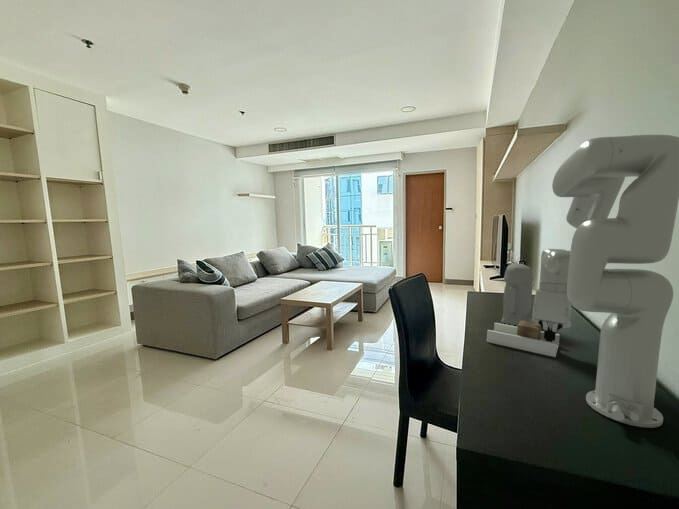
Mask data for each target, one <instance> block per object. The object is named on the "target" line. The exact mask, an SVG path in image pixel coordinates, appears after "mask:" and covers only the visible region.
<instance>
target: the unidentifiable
mask: <svg viewBox="0 0 679 509" xmlns="http://www.w3.org/2000/svg"><path fill="white" fill-rule="evenodd" d="M533 274H534V273H533V269H531V267H530V266H528V265H526V264H523V263H511V264H509V265H507V267H506V269H505V272H504V276H503V281H504V282H505V286H504V290H503V307H502V308H503V310H502V312H503V314H502V318H501V319H500V322H501V323H502V322H503V323H502V324H504V323H505V324H506V325H509V324H510V325H511V326H514V325H516V326H517V327H518V324H519V322H520V321H521V320H524V321H530V322H532V320H531V319H532V318H530V317H529V314H531V311H532V303H533V302H532V300H533V286H532V285H533V281H534V277H533Z"/></svg>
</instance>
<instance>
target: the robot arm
mask: <svg viewBox="0 0 679 509" xmlns="http://www.w3.org/2000/svg"><path fill="white" fill-rule="evenodd" d="M628 177H631V178H632V177H637V178H635V179H634V180H633V181H632V182H630V184H629V185H627V187H626V188H625V189H624V190H623V192H622V193H621V196H620V198H619V202H618V211H617V214H616V217H615V218H614V217H613V218H611V217H609V215H610V212H611V211H612V209H613V207H614V204H615V203H616V199H617V198H618V195H619V193H620V191H621V188H622V186H623V185H624V182H625V179H626V178H628ZM551 186H552V192H553V194H554V195H555V196H557V197H559V198H573V199H572V201H571V202H570V203H571V204H570V207H569V208H568V212H567V214H566V218H565V219H566V222H567V224H569V225H570V226H572V227H573V228H574V229H576V230H575V232H574V233H573V236H572V239H571V245H570V250H566V249H559V248H546V249H544V250H542V251H541V254H540V272H539V286H538V288H537V289H536V291H535V295H534V300H533V306H532V316H531V318H530V319H531V322H535V323H538V324H540V325H541V329H543V331H544V339H546V341H547V342H552V341H555V334H557V333H556V332H557V331H559V330H561V329H563V328H564V329H566V328H567V329H569V328H571V326H572V324H571V317H572V307H573V308H575V309H576V310H578V311H582V312H586V313H587V312H589V313H606V314H607V313H609V315H608V317H607V318H606V319H605V320H604V322H603V324H602V326H601V329H600V333H599V343H598V355H597V365H596V366H597V367H596V379H595V389H594V390H591V391H588V392H587V393H586V394H585V400H586V403H587V405H589V406H590V407H591V408H592V410H594V411H596V413H597V412H598V413H599V414H600V415H602V416H605V417H606V418H609V419H611V420H614V421H617V422H619V423H622V424H626V425H629V426H633V427H638V428H645V429H646V428H650V429H653V428H658V427H661V426H662V425H663V422H664V416H663V414H662V413H661V412H660V411H659V410H658V409H657V408H655V407H654V406H655V398H656V397H655V395H656V388H657V387H656V386H657V377H658V369H659V368H658V367H659V359H660V358H659V357H660V351H661V350H660V349H661V341H662V337H663V336H662V335H663V331H664V330H663V329H664V324H665V321H666V318H667V315H668V313H669V310H670V308H671V305H672V303H673V299H674V289H673V285H672V283H671V281H669V279H668V278H667V277H665V276H664V275H662V274H660V273H659V272H656V271H652V270H649V269H648V270H647V269H639V268H637V269H636V268H635V269H634V268H606V266H607V264H621V265H622V264H632V265H634V264H636V265H644V264H647V265H648V264H654V263H659V262H661V261H662V260H664V259H665V258H666V257H667V255H668V254H669V252H670V247H671V245H672V240H673V234H674V229H675V223H676V217H677V213H678V212H677V211H678V204H679V136H675V135H669V134H639V135H637V134H635V135H623V136H622V135H621V136H601V137H593V138H591V139H588V140H586V141H584V142H583V143H581V144H580V145H579V146H578V147H577V148H576V149H575V150H574V151H573V152H572V153H571V154H570V155H569V156H568V157H567V158H566V159H565V160H564V161H563V162H562V164H560V166H559V167H558V169H557V171H556V172H555V174H554V177H553V180H552V185H551ZM608 217H609V218H608ZM549 323H553V324H552V327H551V329H550V327H549Z"/></svg>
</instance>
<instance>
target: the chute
mask: <svg viewBox="0 0 679 509" xmlns="http://www.w3.org/2000/svg"><path fill="white" fill-rule="evenodd" d="M493 324H494V325H493V329H492V330H491V329H487V331H486V342H487V343H491V344H495V345H498V346H504V347H509V348H512V349H517V350H522V351H526V352H531V353H535V354H538V355H544V356H549V357H551V358H552V357H553V358H556V356H557V354H558V350H559V345H560V334H559V333H556V334H555V341H552V342H547V341H546V339H544V330H543V331H542V330H541V336H540V340H537V339H532V338H527V337H522V336H517V327H518V326H514V325H509V324H504V323H500V322H494V323H493Z"/></svg>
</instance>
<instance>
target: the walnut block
mask: <svg viewBox="0 0 679 509" xmlns="http://www.w3.org/2000/svg"><path fill="white" fill-rule="evenodd" d="M541 331H542V327H541V325H540V324H538V323H535V322H533V321H531V322H530V321H524V320H521V321H520V322H519V324H518V326H517V336H522V337H527V338H532V339H537V340H540V336H541Z"/></svg>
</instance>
